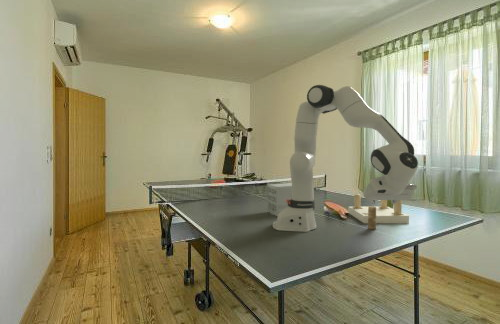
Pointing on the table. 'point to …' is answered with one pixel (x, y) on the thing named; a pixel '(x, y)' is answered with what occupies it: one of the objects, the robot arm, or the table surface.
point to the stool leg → (372, 218)
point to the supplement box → (278, 197)
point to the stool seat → (378, 212)
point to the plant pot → (389, 204)
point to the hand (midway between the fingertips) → (382, 202)
